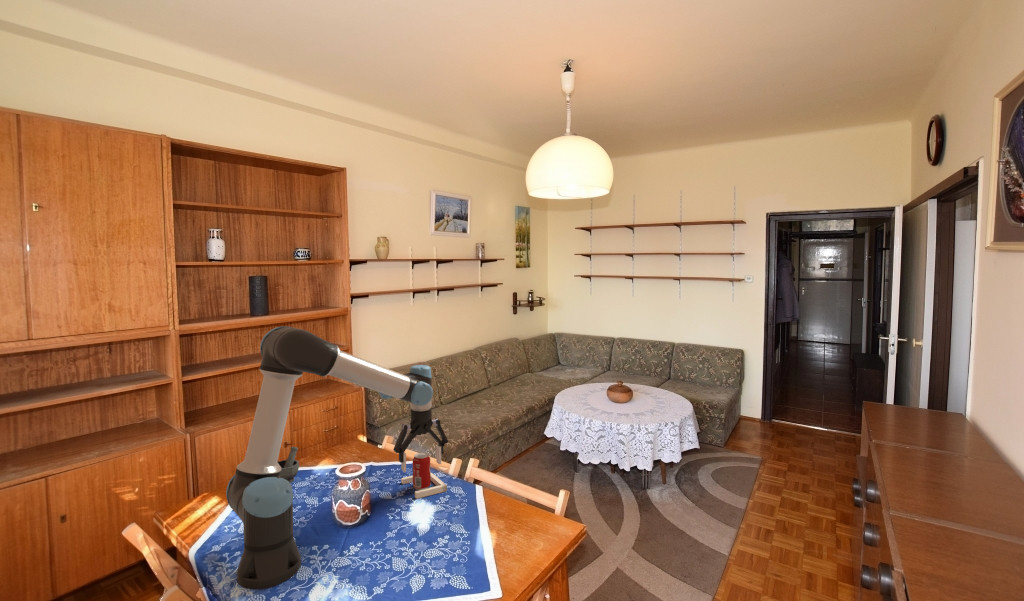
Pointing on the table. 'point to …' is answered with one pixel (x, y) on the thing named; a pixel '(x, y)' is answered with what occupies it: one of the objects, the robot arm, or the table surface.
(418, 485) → the beverage can
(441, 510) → the table surface
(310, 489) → the table surface
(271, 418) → the robot arm
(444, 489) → the u-shaped wooden frame
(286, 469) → the mortar and pestle
